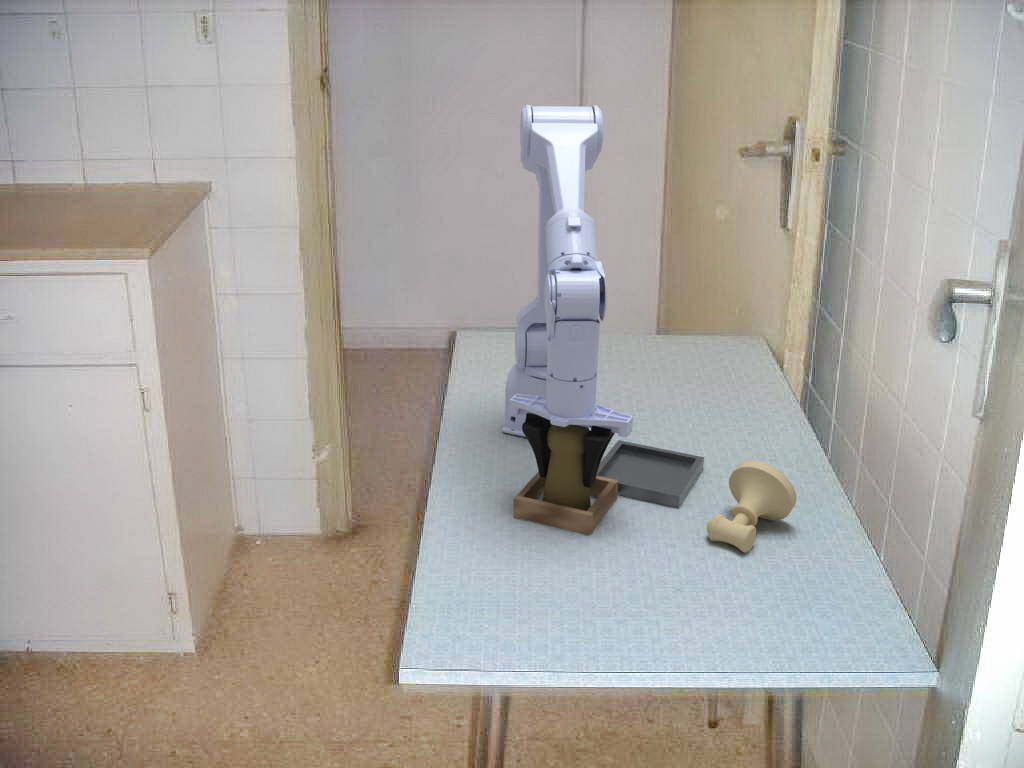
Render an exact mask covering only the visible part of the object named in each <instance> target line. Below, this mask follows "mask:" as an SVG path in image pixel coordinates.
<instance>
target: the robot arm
mask: <svg viewBox="0 0 1024 768" xmlns="http://www.w3.org/2000/svg"><path fill="white" fill-rule="evenodd" d="M519 124H520V125H519V126H520V128H519V129H520V131H519V135H520V136H519V138H520V140H519V141H520V142H519V143H520V162H521V166H522V167H521V168H522V169H524V170H526V171H527V172H528V171H529V172H530V173H534V174H535V178H536V181H537V185H538V189H539V190H538V234H537V235H538V239H537V240H538V243H537V247H538V248H537V296H536V297H535V298H534V299H533V300H531V301H529V302H528V303H527V304H526V305H524V306H523V307H521V308H520V309H519V311H518V314H517V315H516V325H515V330H514V331H515V332H514V333H515V334H514V356H515V364H513V365H512V366H511V368H510V370H509V372H508V375H507V379H506V382H505V390H504V393H505V394H504V395H505V396H504V426H503V428H502V433H506V434H510V435H515V436H521V437H525V438H526V439H527V440H528V443H529V445H530V447H531V449H532V451H533V455H534V458H535V461H536V464H537V465H536V466H537V470H538V471H539V476H540V477H544V478H545V477H546V476H547V471H548V466H549V460H550V455H551V449H550V448H549V446H548V443H547V433H548V430H549V428H550V427H551V425H556V426H561V427H566V426H568V425H579V426H584V427H588V428H589V429H590V432H588V433H587V434H586V435H585V437H584V438H583V443H584V449H585V473H584V486H585V487H591V486H592V485H593V483H594V482H595V480H596V475H597V471H598V468H599V465H600V462H601V461H602V460H603V458H604V457H603V456H604V454H605V452H606V451H607V448H608V446H609V444H610V442H611V441H612V439H613V437H614V436H615V434H618V436H619V437H622V438H628V437H629V436H630V434H631V433H632V432H633V425H634V423H633V422H634V415H630V414H626V413H622V412H620V411H619V412H618V411H616V410H614V409H611V408H608V407H606V406H604V405H600V404H598V403H596V401H597V400H596V398H597V384H598V383H597V382H598V366H599V365H598V364H599V345H600V325H601V322H603V321H604V320H605V317H606V312H607V306H608V305H607V304H608V287H607V285H608V284H607V279H606V278H607V277H606V275H605V271H604V268H603V267H604V266H603V262H602V261H600V260H599V251H598V240H597V230H596V228H597V227H596V226H597V225H596V222H595V219H593V217H591V216H590V215H589V214H588V213H586V212H585V195H586V194H585V192H586V191H585V187H586V185H585V184H586V183H585V182H586V171H590V170H591V169H593V167H594V165H595V163H596V162H597V160H598V158H599V155H600V154H601V152H602V150H603V142H604V116H603V111H602V109H600V107H599V106H598V105H595V104H592V106H575V105H574V106H569V105H568V106H567V105H566V106H565V105H564V106H563V105H551V106H550V105H531V104H525V105H524V107H522V109H521V111H520V123H519ZM600 321H601V322H600Z"/></svg>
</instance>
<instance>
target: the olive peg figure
mask: <svg viewBox="0 0 1024 768" xmlns="http://www.w3.org/2000/svg"><path fill="white" fill-rule="evenodd" d="M590 431H591V429H590V428H589V427H584V426H579V425H568V426H566V427H561V426H556V425H551V427H550V428H549V430H548V433H547V443H548V446H549V448H550V449H551V455H550V460H549V466H548V471H547V477H546V482H545V488H544V491H543V492H542V494H543V495H542V500H541V501H544V502H548V503H553V504H557V505H562V506H566V507H570V508H575V509H579V510H584V511H588V509H589V508H590V507H591V505H592V501H591V496H590V489H589V487H585V486H584V473H585V449H584V443H583V438H584V437H585V435H586V434H587V433H588V432H590Z"/></svg>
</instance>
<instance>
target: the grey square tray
mask: <svg viewBox="0 0 1024 768" xmlns="http://www.w3.org/2000/svg"><path fill="white" fill-rule="evenodd" d="M704 464H705V457H704V456H699V455H695V454H689V453H684V452H681V451H676V450H675V451H674V450H669V449H664V448H660V447H654V446H650V445H644V444H639V443H634V442H630V441H624V440H619V439H618V440H617V442H615V444H614V445H613V446H612V447H611V449H610V450H609V451H608V452H607V454H606V455H605V456H604V457H603V458H602V459H601V462H600V465H599V468H598V471H597V475H596V476H601V477H605V478H610V479H615V480H618V491H617V496H622V497H627V498H631V499H635V500H640V501H644V502H649V503H653V504H659V505H663V506H667V507H672V508H676V509H679V508H680V507H681V505H682V504H683V502H684V501H685V499H686V497H687V496H688V494H689V492H690V491H691V489H692V488H693V486H694V484H695V483H696V481H697V479H698V477H699V476H700V475H701V472H702V471H703V469H704V466H705V465H704Z"/></svg>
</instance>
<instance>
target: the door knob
mask: <svg viewBox="0 0 1024 768" xmlns="http://www.w3.org/2000/svg"><path fill="white" fill-rule="evenodd" d="M728 486H729V490H730V492H731V495H732V497H733V499H734V500H735V501H736V502H737V504H738V505H735V506H734V507H733V508H732V509H731V515H732V517H733V520H730V519H728V518H726V517H725V516H724V515H723V514H717V515H715V517H712V518H710V519H709V521H708V522H707V523H706V524H707V525H706V533H707V534H708V537H709V540H710V541H712V542H722V543H723V542H724V543H727V544H730V545H732V546H734V547H736V548H737V549H739V550H740V551H741V552H742V553H744V554H745V553H749V551H751V550H752V548H753V546H754V544H755V541H756V538H757V529H756V525H757V524H758V519H759V518H760V517H762V518H761V519H763V518H765V519H764V520H767V519H768V521H781V520H784V519H786V518H787V517H789V515H790V514H791V513H792V511H793V509H795V508H794V507H795V506H796V504H797V500H798V499H797V498H798V497H797V492H796V489H795V487H794V485H793V484H792V482H791V481H790V479H789V478H788V477H787V476H786V475H785V474H784V473H782V471H781V470H779V469H777V468H776V467H774V466H773V465H771V464H768V463H767V462H766V463H765V462H764V461H760V460H759V461H757V460H746V461H743V462H741V463H739V464H738V465H737V466H736V467H735V468H734V469H733V471H732V472H731V474H730V476H729V479H728Z"/></svg>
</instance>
